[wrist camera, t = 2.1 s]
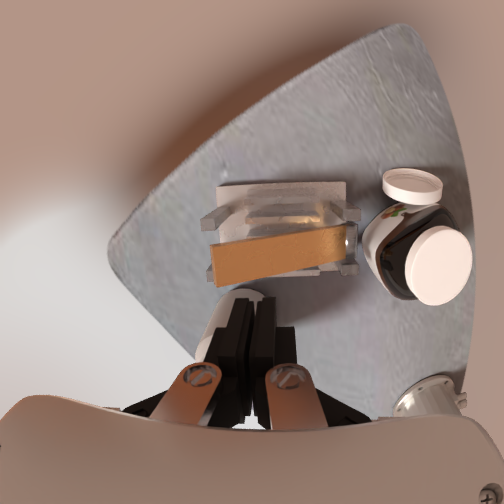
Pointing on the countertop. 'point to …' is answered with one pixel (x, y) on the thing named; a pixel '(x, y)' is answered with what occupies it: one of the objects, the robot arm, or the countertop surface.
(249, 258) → the orange brown bar
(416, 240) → the spread jar
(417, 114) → the countertop surface
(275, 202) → the gray slatted rack
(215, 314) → the can
